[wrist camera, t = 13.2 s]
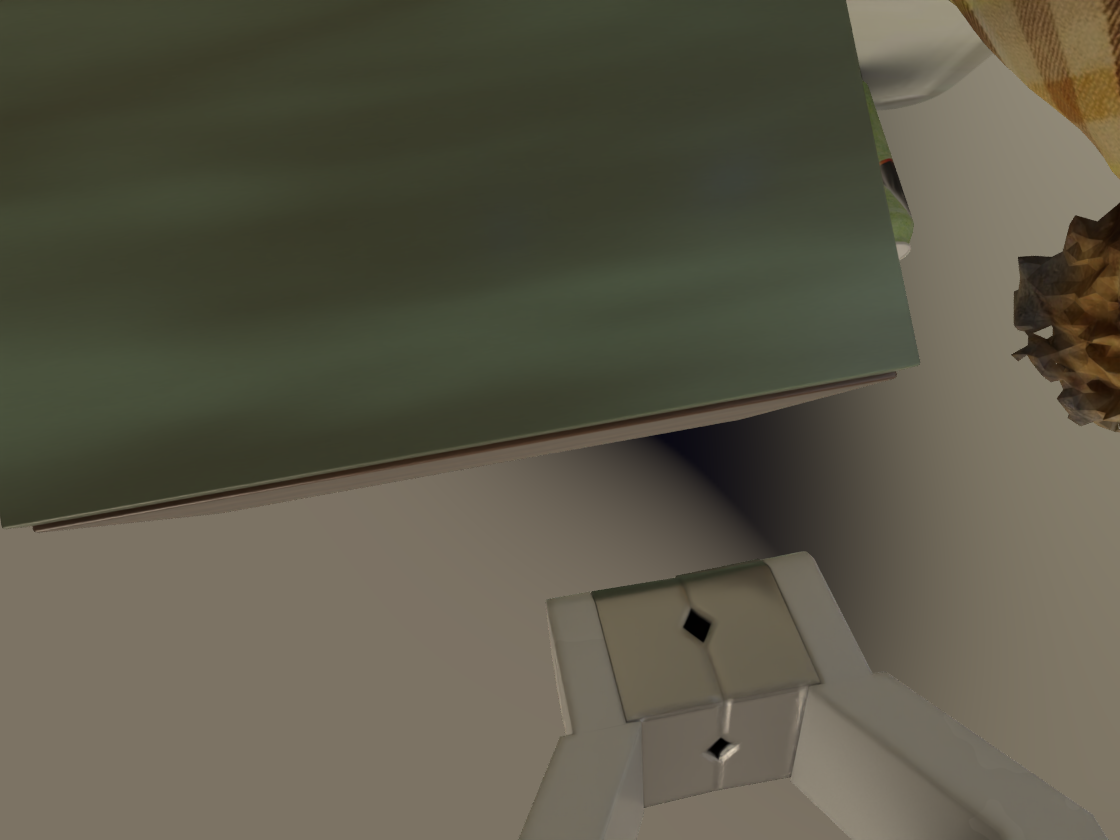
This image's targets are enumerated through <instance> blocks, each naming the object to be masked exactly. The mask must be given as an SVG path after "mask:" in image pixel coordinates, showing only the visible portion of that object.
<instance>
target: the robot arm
mask: <svg viewBox="0 0 1120 840" xmlns="http://www.w3.org/2000/svg"><path fill="white" fill-rule="evenodd" d="M545 604H546V612H547V620H548V628H549V637H550V644H551V653H552V660H553V666H554V673H555V679H556V686H557V693H558V699H559V704H560V709H561V714H562V719H563V723H564V728H565V734H566V736H562V737H560V738H559V740H558V743H557V746H556V748H555V751H554V753H553V756H552V758H551V760H550V763H549V765H548V768H547V770H546V772H545V775H544V777H543V780H542V782H541V785H540V787H539V790H538V792H537V795H536V797H535V800H534V802H533V805H532V807H531V810H530V812H529V815H528V817H527V819H526V822H525V824H524V827H523V829H522V832H521V834H520V837H519V839H518V840H636V839H637V835H638V832H639V828H640V825H641V821H642V818H643V814H644V808H645V807H649V806H653V805H657V804H662V803H666V802H670V801H674V800H679V799H683V798H687V797H691V796H696V795H700V794H704V793H708V792H712V791H717V790H722V789H728V788H733V787H738V786H745V785H750V784H756V783H761V782H767V781H772V780H777V779H783V778H788V777H791V782H792V783H793V784H794V785H795V786H796V787H797V788H798V789H799V790H800V791H801V792H802V793H804V794H805V795H806V796H807V797H808V798H809V799H810V800H811V801H812V802H813V803H814V804H815V805H816V806H817V807H818V808H820V810H821V811H822V812H824V813H825V814H826V815H827V816H828V817H829V818H830V819H831V820H832V821H833V822H834V823H835V824H836V825H837V826H838V827H839V828H840V829H841V830H843V832H845V833H846V834H847V835H848V836H849V837H850V838H851V839H852V840H1108V838H1107V837H1106V836H1105V834H1104V832H1103V830H1102V829H1101V827H1100V826H1099V824H1098V822H1097V821H1096V819H1095V818H1094V816H1093V815H1092V814H1091V813H1090V812H1088V811H1087V810H1085V809H1084V808H1082V807H1081V806H1080V805H1078V804H1077V803H1075V802H1074V801H1072V800H1071V799H1069V798H1068V797H1066V796H1065V795H1064V794H1062V793H1061V792H1059V791H1058V790H1056V789H1055V788H1054V787H1052V786H1051V785H1049V784H1048V783H1046V782H1045V781H1043V780H1042V779H1040V778H1039V777H1038V776H1036V775H1035V774H1033V773H1031V772H1030V771H1029V770H1027V769H1026V768H1025V767H1023V766H1022V765H1020V764H1019V763H1017V762H1016V761H1014V760H1013V759H1012V758H1010V757H1009V756H1007V755H1006V754H1004V753H1003V752H1001V751H1000V750H998V749H997V748H996V747H994V746H993V745H991V744H990V743H988V742H987V741H985V740H984V739H983V738H981V737H980V736H978V735H977V734H975V733H973V732H972V731H971V730H970V729H968V728H967V727H965V726H964V725H962V724H961V723H959V722H958V721H956V720H955V719H954V718H952V717H951V716H949V715H948V714H946V713H945V712H943V711H942V710H941V709H939V708H938V707H936V706H935V705H933V704H932V703H930V702H929V701H928V700H926V699H925V698H923V697H922V696H920V695H919V694H917V693H916V692H915V691H913V690H912V689H910V688H909V687H907V686H906V685H904V684H903V683H901V682H900V681H899V680H897V679H896V678H894V677H893V676H891V675H890V674H888V673H887V672H879V673H872V672H871V670H870V668H869V666H868V664H867V662H866V660H865V658H864V656H863V654H862V652H861V650H860V648H859V646H858V644H857V643H856V640H855V638H854V636H853V635H852V633H851V631H850V629H849V627H848V625H847V623H846V621H845V619H844V617H843V615H842V613H841V611H840V609H839V607H838V605H837V603H836V601H835V599H834V597H833V595H832V593H831V591H830V589H829V587H828V585H827V583H826V581H825V579H824V578H823V576H822V574H821V572H820V570H819V568H818V566H817V564H816V562H815V560H814V558H813V557H811V556H810V555H809V554H808V553H807V552H797V553H793V554H788V555H783V556H778V557H774V558H768V559H764V560H760V559H756V560H752V561H746V562H741V563H737V564H731V565H727V566H722V567H717V568H712V569H707V570H702V571H697V572H692V573H688V574H682V575H678V576H676V577H675V578H670V579H665V580H658V581H652V582H646V583H640V584H634V585H628V586H622V587H616V588H610V589H604V590H598V591H592V592H591V593H590V592H585V593H579V594H574V595H569V596H563V597H558V598H552V599H547V600H546V602H545Z"/></svg>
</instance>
